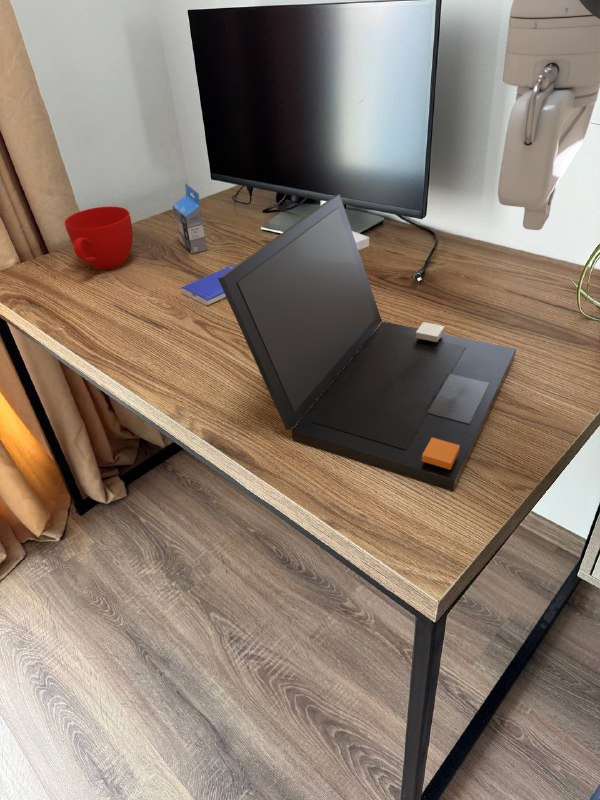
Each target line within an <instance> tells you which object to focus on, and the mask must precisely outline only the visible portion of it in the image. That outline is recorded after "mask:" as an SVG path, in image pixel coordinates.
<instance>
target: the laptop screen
mask: <svg viewBox="0 0 600 800" xmlns="http://www.w3.org/2000/svg"><path fill="white" fill-rule="evenodd" d="M352 231H353V230H352V227H351V224H350V221H349V217H348V216H347V212H346V209H345V206H344V203H343V200H342V197H341V194H340V193H338V194H335V195H333V196H332V197H331V198H329V199H328V200H326V201H325V202H324V203H322V204H321V205H319V206H318V207H316V208H315V209H314V210H312V211H311V212H310V213H308V214H307V215H305V216H303V218H301V219H300V220H298V221H297V222H295V223H294V224H292V225H291V226H290V227H288V228H287V229H286V230H284V231H283V232H281V233H280V234H278V235H277V236H276V237H274V238H273V239H272V240H269V242H267V243H265V244H264V245H263V246H261V247H260V248H259V249H257V250H256V251H254V252H253V253H252V254H250V255H249V256H247V257H246V258H245V259H243V260H242V261H240V262H239V263H238V264H236V265H234V266H235V267H233V268H232V269H231V270H229V271H228V272H226V273H225V274H224V275H222V276H221V277H219V278H218V280H219V282H220V284H221V286H222V289H223V291H224V293H225V295H226V297H225V298H226V300H227V302H228V305H229V306H230V309H231V311H232V313H233V315H234V317H235V319H236V322H237V324H238V326H239V329H240V330H241V333H242V335H243V337H244V340H245V342H246V344H247V347H248V349H249V350H250V353H251V355H252V357H253V359H254V361H255V364H256V366H257V368H258V371H259V373H260V375H261V377H262V379H263V381H264V385H265V386H266V388H267V391H268V393H269V395H270V397H271V399H272V401H273V403H274V406H275V408H276V411H277V413H278V415H279V417H280V419H281V421H282V424H283V426H284V428H285V430H286V431H292V429H293V428H294V427H295V426H296V424H297V423H298V422H299V421H300V420H301V418H302V417H303V416H304V415H305V414H306V412H307V411H308V410H309V409H310V408H311V407H312V405H313V404H314V403H315V402H316V401H317V399H318V398H319V397H320V396H321V395H322V393H323V392H324V391H325V390H326V389H327V387H328V386H329V385H330V384H331V383H332V381H333V380H334V379H335V378H336V377H337V376H338V374H339V373H340V372H341V371H342V370H343V368H344V367H345V366H346V365H347V364H348V362H349V361H350V360H351V359H352V358H353V356H354V355H355V354H356V353H357V352H358V350H359V349H360V348H361V347H362V346H363V345H364V343H365V342H366V341H367V340H368V339H369V337H370V336H371V335H372V334H373V333H374V331H375V330H376V329H377V328H378V327H379V325H380V324H381V323H382V322H383V320H382V317H381V315H380V311H379V308H378V304H377V301H376V299H375V295H374V293H373V290H372V288H371V287H372V286H371V284H370V281H369V278H368V274H367V271H366V269H365V265H364V263H363V260H362V257H361V254H360V250H358V248H357V245H356V242H355V239H354V236H353V233H352Z"/></svg>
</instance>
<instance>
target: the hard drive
mask: <svg viewBox="0 0 600 800" xmlns="http://www.w3.org/2000/svg"><path fill="white" fill-rule="evenodd" d="M235 266H236V265H234V264H231V265H229V266H227V267H225V268H222V269H220V270H217V271H215V272H213V273H210V274H208V275H206V276H203V277H202V278H199V279H197V280H195V281H194V280H193V281H192V282H190V283H187V284H186V285H184V286H183V285H182V286H181V287H180V290H181V293H182V295H184V296H186V297H188V298H190V299H192V300H194V301H196V302H198V303H200V304H203V305H204V306H209V305H212V304H213V303H214V304H215V303H216V302H218V301H221V300H223V299H225V298H227V297H226V295H225V293H224V291H223V289H222V286H221V284H220V282H219V280H218V278H219V277H221V276H222V275H224V274H225V273H226V272H228V271H229V270H231V269H232V268H233V267H235Z"/></svg>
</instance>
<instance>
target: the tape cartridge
mask: <svg viewBox="0 0 600 800" xmlns="http://www.w3.org/2000/svg"><path fill="white" fill-rule="evenodd" d="M184 187H185V195H184V196H183V197H181V198H180V199H178V200H177V201H176V202H175V203H173V205H172V211H173V216H174V222H175V226H176V230H177V235H178V241H179V243H180V244H181V245H182V246H183V247H184V248H185V249H186V250H187V251H188V252H190V254H191V255H194V254H195V255H196V254H199V253H202V252H206V251H208V247H207V242H206V234H205V228H204V222H203V216H202V210H201V203H200V195H199V193H198V192H197V191H196V190H195V189H193V188H192V187H191V186H189V185H188V184H187V183H184ZM192 195H193V196H192Z"/></svg>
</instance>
